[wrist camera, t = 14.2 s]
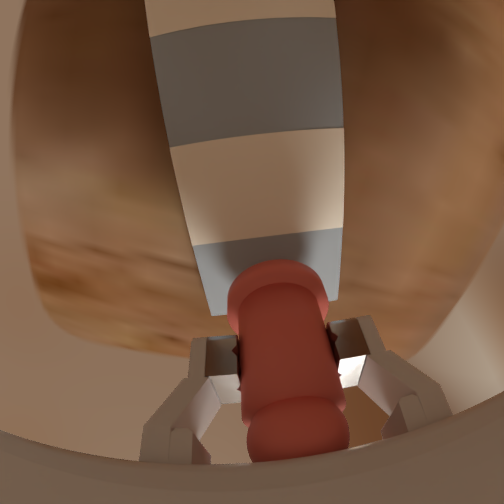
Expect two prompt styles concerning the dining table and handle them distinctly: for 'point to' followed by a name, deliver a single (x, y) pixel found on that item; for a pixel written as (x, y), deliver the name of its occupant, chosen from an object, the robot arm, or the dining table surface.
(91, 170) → the dining table surface
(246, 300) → the pawn
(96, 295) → the dining table surface
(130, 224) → the dining table surface
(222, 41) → the board
